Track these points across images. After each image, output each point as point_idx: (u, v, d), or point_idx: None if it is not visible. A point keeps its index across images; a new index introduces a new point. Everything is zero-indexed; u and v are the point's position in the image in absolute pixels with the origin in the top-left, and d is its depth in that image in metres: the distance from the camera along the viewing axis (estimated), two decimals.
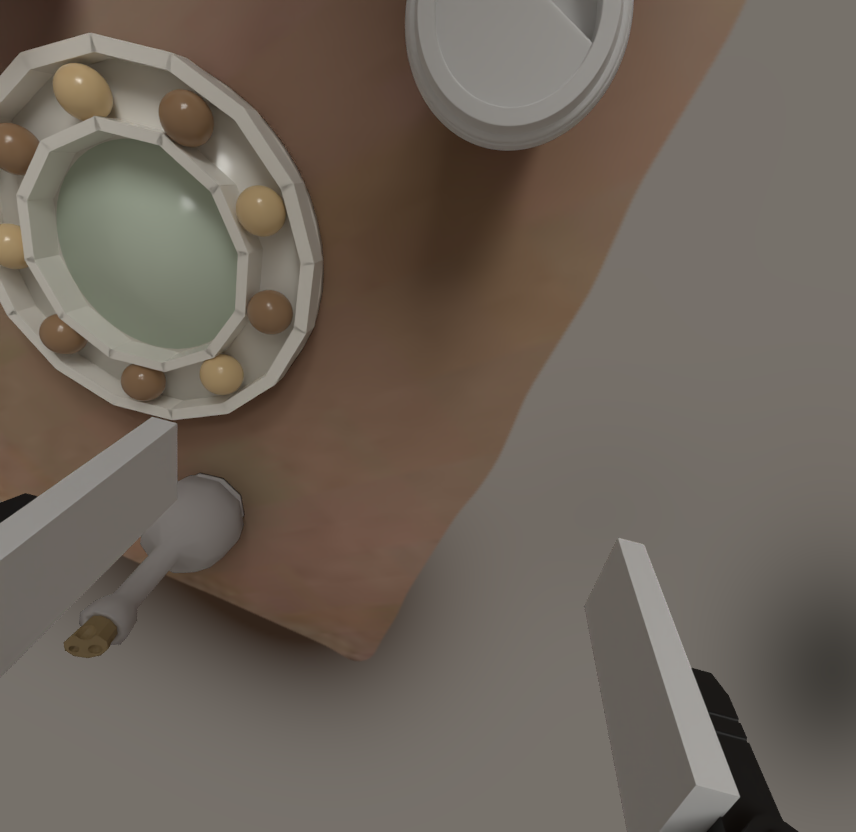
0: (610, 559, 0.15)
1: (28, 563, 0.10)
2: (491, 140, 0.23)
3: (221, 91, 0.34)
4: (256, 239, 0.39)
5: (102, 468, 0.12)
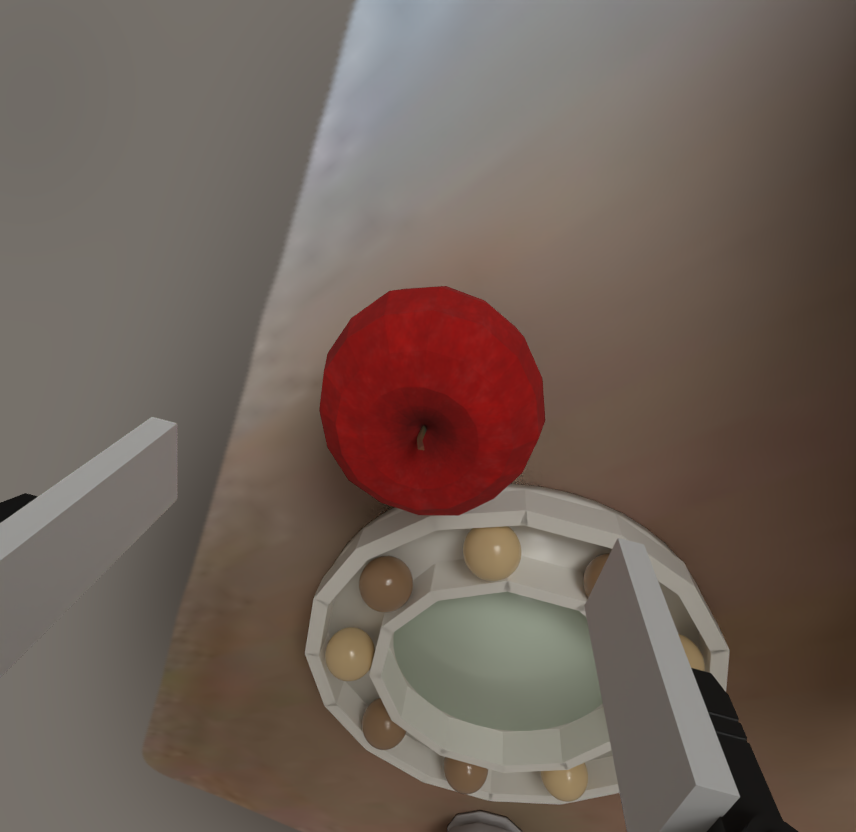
0: (610, 559, 0.15)
1: (27, 564, 0.10)
2: None
3: (671, 570, 0.29)
4: None
5: (102, 468, 0.12)
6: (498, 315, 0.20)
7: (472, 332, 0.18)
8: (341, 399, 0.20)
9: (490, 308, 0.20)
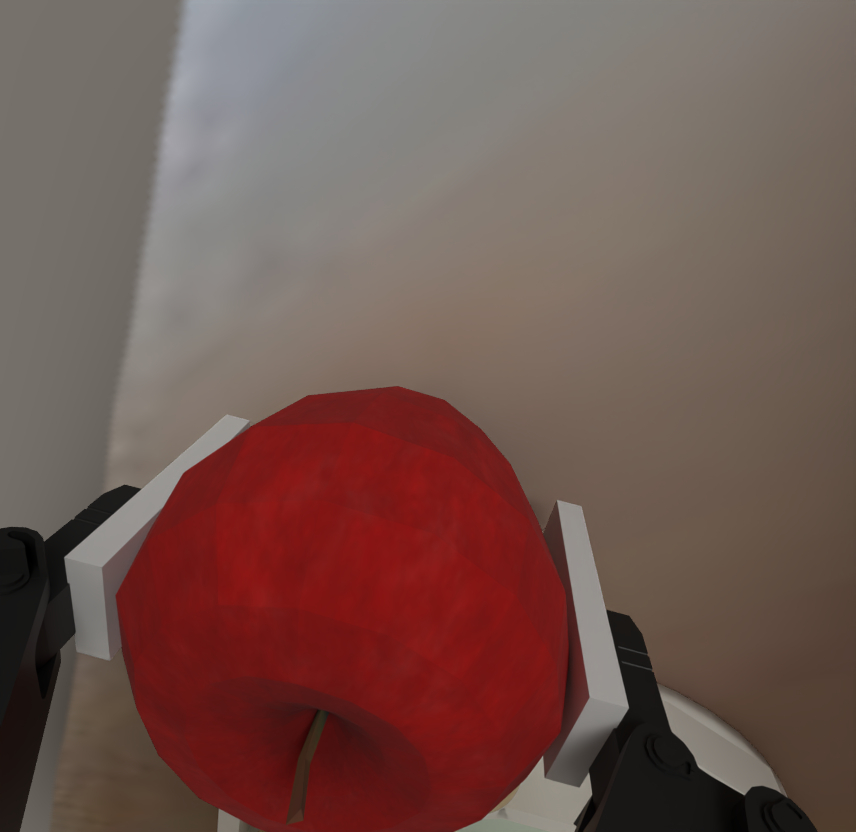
0: (550, 520, 0.16)
1: None
2: None
3: None
4: None
5: (193, 461, 0.13)
6: (475, 482, 0.10)
7: (410, 555, 0.08)
8: (137, 671, 0.09)
9: (458, 469, 0.09)
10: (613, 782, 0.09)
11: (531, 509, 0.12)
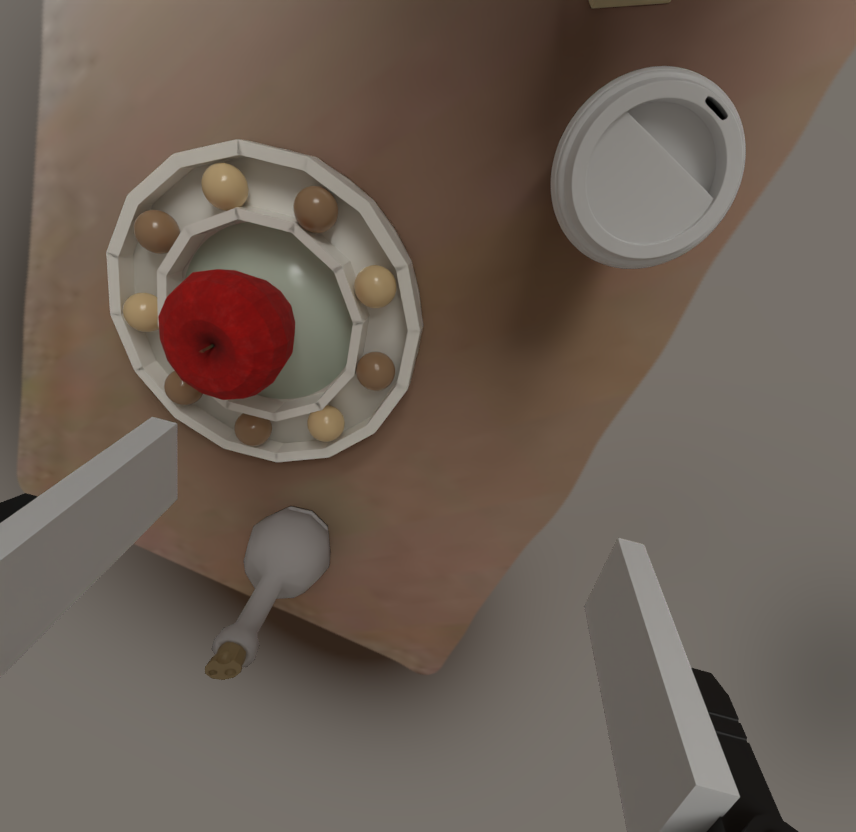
0: (610, 559, 0.15)
1: (28, 563, 0.10)
2: (618, 264, 0.28)
3: (350, 188, 0.39)
4: (365, 308, 0.44)
5: (102, 468, 0.12)
6: (249, 283, 0.37)
7: (224, 290, 0.36)
8: (164, 329, 0.37)
9: (244, 279, 0.37)
10: None
11: (283, 306, 0.40)
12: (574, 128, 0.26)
